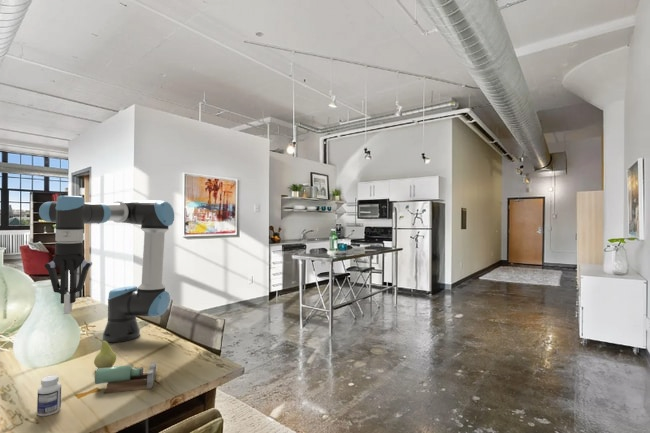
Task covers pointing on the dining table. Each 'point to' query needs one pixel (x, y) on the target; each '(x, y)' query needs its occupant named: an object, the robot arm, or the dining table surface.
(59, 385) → the pill bottle
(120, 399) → the dining table surface
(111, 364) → the fruit
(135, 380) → the cradle
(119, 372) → the bottle
